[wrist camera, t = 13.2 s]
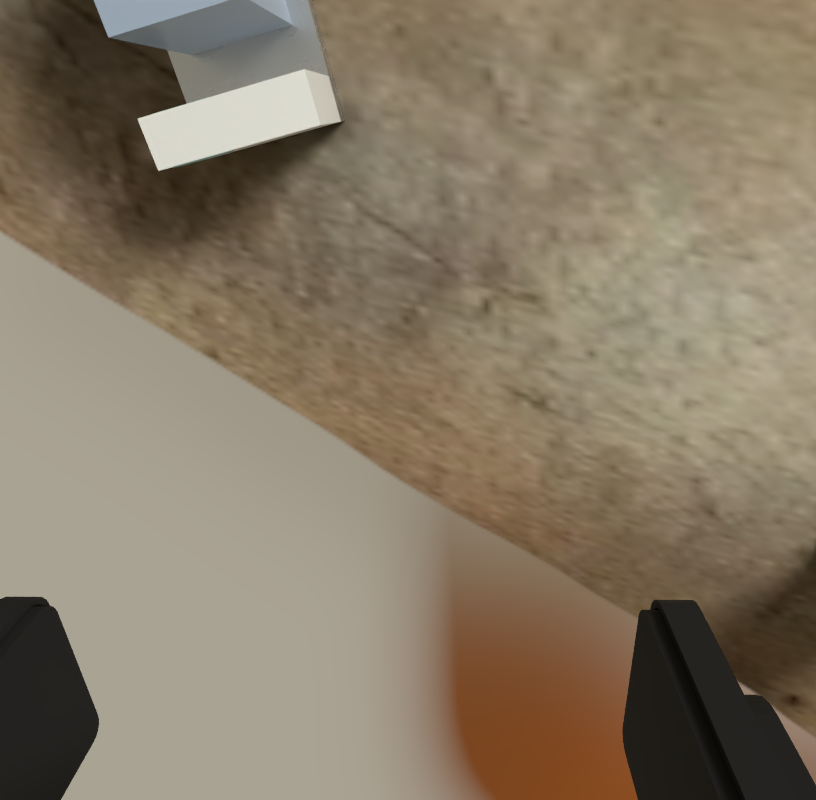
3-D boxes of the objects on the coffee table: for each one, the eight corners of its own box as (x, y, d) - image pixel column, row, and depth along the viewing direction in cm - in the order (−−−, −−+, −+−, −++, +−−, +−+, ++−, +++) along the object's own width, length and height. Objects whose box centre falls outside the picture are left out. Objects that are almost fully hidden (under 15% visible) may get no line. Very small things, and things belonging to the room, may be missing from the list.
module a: (341, 122, 29) (320, 126, 24) (207, 160, 30) (158, 172, 25) (328, 75, 28) (303, 67, 23) (191, 115, 29) (136, 117, 24)
